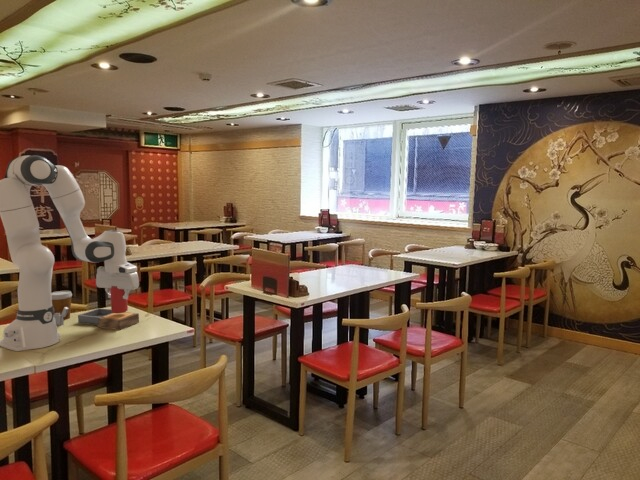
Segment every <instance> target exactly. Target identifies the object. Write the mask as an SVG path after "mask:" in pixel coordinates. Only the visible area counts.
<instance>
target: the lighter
mask: <svg viewBox="0 0 640 480" xmlns="http://www.w3.org/2000/svg"><path fill="white" fill-rule="evenodd" d="M68 310H69V308H67V307H65V308H64V309H63V311H62V314H61V315H60V313H55V315H53V317H54V318H55V321H56V326H59V327H60V326H64V320H63V317H65V316H66V315H67V312H68Z"/></svg>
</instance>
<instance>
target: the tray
mask: <svg viewBox="0 0 640 480" xmlns="http://www.w3.org/2000/svg"><path fill="white" fill-rule="evenodd" d="M111 313H113V312H112V311H111V308H110V309H109V308H101V307H100V308H96V309H93V310H89V311H87V312H84V313H80V314H78V315H77V321H78V324H85V325H92V326H93V325H94V326H98V318H100V317H103V316H106V315H109V314H111Z"/></svg>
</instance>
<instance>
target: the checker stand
mask: <svg viewBox="0 0 640 480" xmlns="http://www.w3.org/2000/svg"><path fill="white" fill-rule="evenodd" d="M124 313H129V312H127V311H126V312H124ZM132 313H133V314H134V315H131V316H128V317H126V318H123V319H120V320H118V319H108V318H103V317H105V316H103V317H100V318H98V325H97V326H98V328H101V329H102V328H103V329H110V330H112V329H113V330H118V331H121V330H123V329H125V328H128V327H131V326H133V325H136V324H138V323H140V315H139V313H138V312H132ZM111 314H113V313H111ZM109 315H110V314H109ZM106 316H108V315H106Z"/></svg>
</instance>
